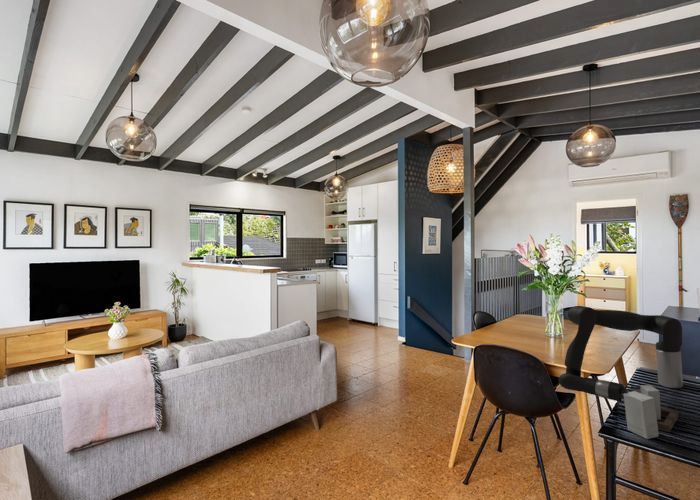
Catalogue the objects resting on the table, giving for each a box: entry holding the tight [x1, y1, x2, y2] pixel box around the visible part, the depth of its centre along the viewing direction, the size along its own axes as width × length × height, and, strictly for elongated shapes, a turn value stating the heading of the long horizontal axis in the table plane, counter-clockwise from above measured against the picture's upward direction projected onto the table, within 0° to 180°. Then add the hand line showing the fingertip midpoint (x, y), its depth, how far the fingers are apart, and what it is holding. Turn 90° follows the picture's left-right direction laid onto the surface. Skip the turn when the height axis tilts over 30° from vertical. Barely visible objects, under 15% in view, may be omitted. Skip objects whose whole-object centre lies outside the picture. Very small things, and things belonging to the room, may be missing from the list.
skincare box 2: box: [623, 391, 660, 440], centre depth 147 cm, size 8×6×15 cm
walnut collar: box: [624, 407, 679, 433], centre depth 156 cm, size 15×14×2 cm
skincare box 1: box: [639, 384, 662, 421], centre depth 156 cm, size 6×4×12 cm
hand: (656, 400), depth 154 cm, fingers closed on skincare box 1, 7 cm apart
